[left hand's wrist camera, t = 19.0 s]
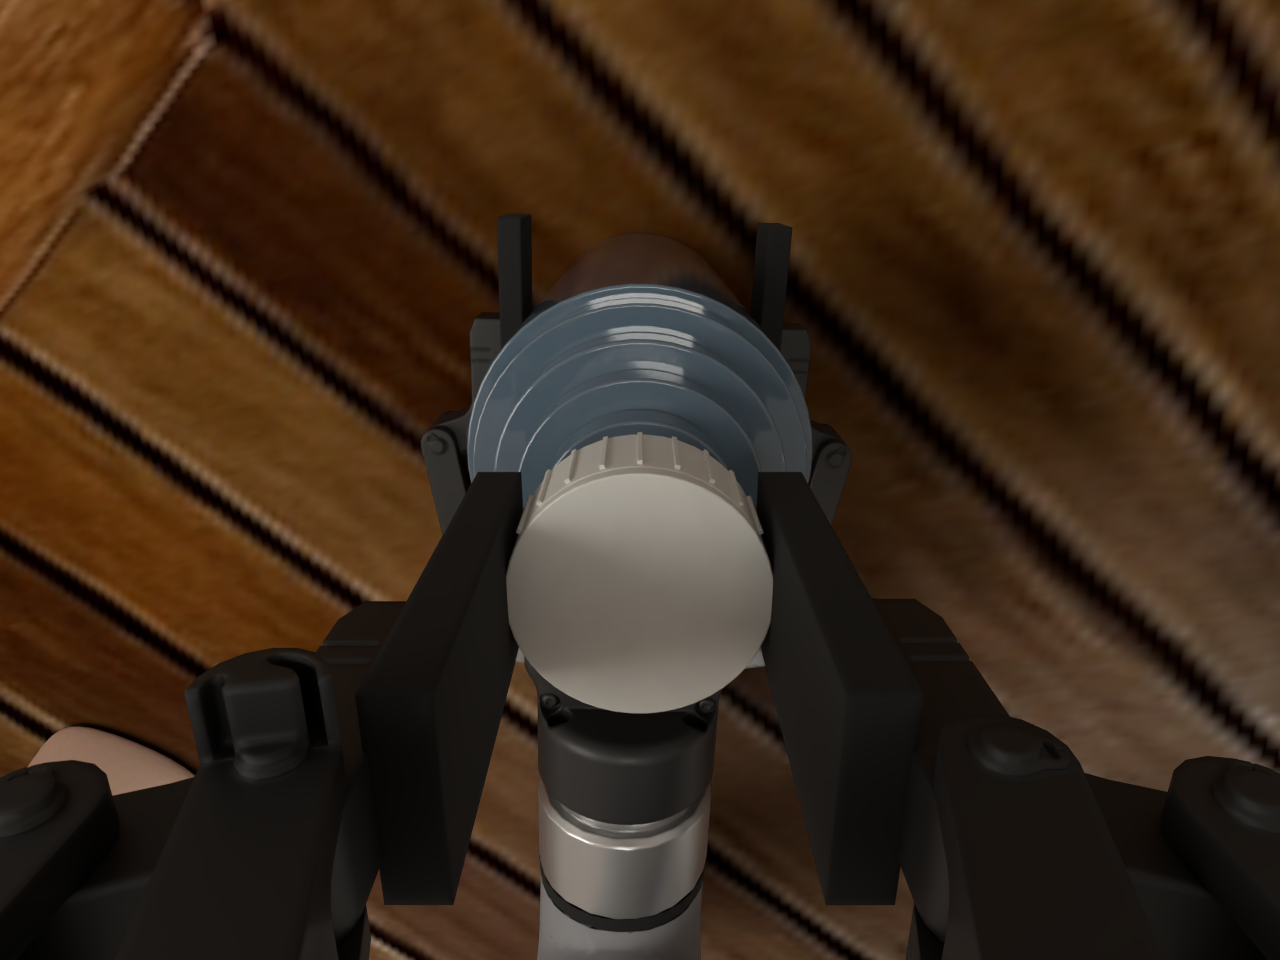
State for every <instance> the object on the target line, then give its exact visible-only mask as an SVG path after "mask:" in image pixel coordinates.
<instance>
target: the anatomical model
mask: <svg viewBox="0 0 1280 960" xmlns="http://www.w3.org/2000/svg"><path fill="white" fill-rule="evenodd" d="M66 760H77V761H83V762H88V763H94V764H95V765H97V766H98V767H99V768H100V769H101V770H102V771H104V772H105V773H106V774H107V778H108V781H109V785H110V788H111V792H112V796H113V795H118V794H122V793H127V792H132V791H137V790H141V789H146V788H151V787H155V786H160V785H165V784H170V783H174V782H177V781H181V780H185V779H188V778H192V777H195V775H194V774H193V773H191V772H190V771H189V770H187V769H186V768H185V767H183V766H181V765H180V764H178V763H176V762H175V761H173V760H172V759H170V758H168V757H166V756H164V755H162V754H160V753H158V752H156V751H154V750H152V749H150V748H147V747H145V746H143V745H140V744H138V743H136V742H133V741H131V740H128V739H125V738H123V737H120V736H117V735H115V734H111V733H108V732H104V731H101V730H98V729H94V728H88V727H80V726H77V727H67V728H64V729H62V730H60V731H58V732H57V733H55V734H54V735H52V736H51V738H50V739H49V740H48V741H47V742H46V743H45V744H44V745H43V746H42V748H41V749H40V750H39V752H38V753H37V754H36V756H35V757H34V759H33V760H32V761H31V763H30V764H29V766H28V767H30V766H32V765H37V764H41V763H46V762H56V761H66ZM28 767H27V768H28Z"/></svg>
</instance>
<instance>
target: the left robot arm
mask: <svg viewBox="0 0 1280 960" xmlns="http://www.w3.org/2000/svg"><path fill="white" fill-rule="evenodd" d="M756 512H757V515H758V518H759V521H760V524H761V526H762V529H763V532H764V533H763V534H761V536H762V539H763V542H764V545H765V548H766V551H767V554H768V556H769V559H770V563H771V567H772V572H773V594H772V610H771V622H770V626H769V629H768V631H767V634H766V637H765V639H764V641H763V643H762V644H761V646H760V648H761V652H762V656H763V660H764V663H765V667H766V671H767V675H768V679H769V683H770V687H771V691H772V695H773V699H774V703H775V706H776V710H777V714H778V718H779V722H780V726H781V730H782V734H783V738H784V742H785V746H786V750H787V753H788V757H789V761H790V765H791V769H792V773H793V777H794V781H795V785H796V789H797V793H798V796H799V800H800V804H801V808H802V812H803V816H804V820H805V824H806V828H807V832H808V836H809V839H810V843H811V847H812V851H813V855H814V859H815V863H816V867H817V871H818V875H819V879H820V882H821V886H822V890H823V894H824V898H825V902H826V905H895V900H896V893H897V886H898V879H899V872H900V865H901V868H902V870H903V873H904V876H905V878H906V881H907V883H908V886H909V889H910V891H911V894H912V897H913V899H914V908H913V915H912V921H911V928H910V935H909V941H908V948H907V954H906V960H1280V774H1279V773H1277V772H1275V771H1274V770H1272V769H1270V768H1267V767H1264V766H1261V765H1258V764H1252V763H1250V762H1247V761H1242V760H1238V759H1232V758H1222V757H1212V756H1205V757H1199V758H1194V759H1188V760H1185V761H1184V762H1183V763H1182V764H1181V765H1179V766H1178V767H1177V768H1176V769H1175V770H1174V772H1173V775H1172V779H1171V782H1170V786H1169V790H1168V792H1165V791H1160V790H1156V789H1151V788H1146V787H1141V786H1136V785H1132V784H1127V783H1122V782H1117V781H1113V780H1108V779H1104V778H1101V777H1097V776H1094V775H1090V774H1086V773H1084V771H1083V769H1082V767H1081V764H1080V762H1079V761H1078V760H1077V758H1076V757H1075V756H1074V754H1073V753H1072V751H1071V750H1070V749H1069V747H1068V746H1067V745H1066V744H1064V743H1063V742H1061V741H1060V740H1059V739H1057V738H1056V737H1055V736H1053V735H1052V734H1051V733H1049V732H1048V731H1046V730H1044V729H1042V728H1039V727H1037V726H1035V725H1033V724H1030V723H1028V722H1026V721H1023V720H1021V719H1016V718H1012V717H1010V716H1009V715H1008V713H1007V712H1006V710H1005V709H1004V707H1003V706H1002V704H1001V703H1000V701H999V700H998V699H997V697H996V696H995V694H994V693H993V691H992V690H991V688H990V687H989V685H988V684H987V682H986V681H985V680H984V678H983V677H982V675H981V674H980V672H979V671H978V669H977V668H976V666H975V665H974V664H973V662H972V661H969V656H968V655H967V653H966V652H965V650H964V649H963V648H962V646H961V645H960V643H957V639H956V637H955V636H954V634H953V633H952V631H951V630H950V629H949V627H948V626H947V624H946V623H945V621H944V620H943V618H942V617H941V616H939V615H938V614H936V613H935V612H933V611H932V610H930V609H929V608H927V607H926V606H924V605H923V604H921V603H920V602H918V601H917V600H915V599H871V597H870V595H869V594H868V592H867V590H866V588H865V586H864V585H863V583H862V581H861V579H860V577H859V575H858V574H857V572H856V570H855V568H854V566H853V565H852V563H851V561H850V559H849V557H848V555H847V554H846V552H845V550H844V548H843V546H842V544H841V543H840V541H839V539H838V537H837V535H836V534H835V532H834V530H833V528H832V526H831V524H830V523H829V521H828V519H827V517H826V515H825V513H824V512H823V510H822V508H821V506H820V504H819V503H818V501H817V499H816V497H815V495H814V493H813V492H812V490H811V488H810V486H809V484H808V482H807V481H806V479H805V477H804V475H803V473H802V472H758V485H757V504H756ZM522 513H523V495H522V476H521V472H477V474H476V476H475V478H474V480H473V482H472V483H471V485H470V487H469V489H468V491H467V492H466V494H465V496H464V498H463V500H462V502H461V503H460V505H459V507H458V509H457V511H456V512H455V514H454V516H453V518H452V520H451V522H450V523H449V525H448V527H447V529H446V531H445V533H444V534H443V536H442V538H441V540H440V542H439V543H438V545H437V547H436V549H435V551H434V553H433V554H432V556H431V558H430V560H429V562H428V563H427V565H426V567H425V569H424V571H423V573H422V574H421V576H420V578H419V580H418V582H417V584H416V585H415V587H414V589H413V591H412V593H411V594H410V596H409V598H408V600H407V601H365V602H364V603H362V604H361V605H359V606H358V607H356V608H355V609H354V610H352V611H351V612H349V613H348V614H346V615H345V616H343V617H342V618H340V619H339V620H338V621H337V622H336V624H335V625H334V627H333V628H332V630H331V631H330V633H329V634H328V635H327V637H326V638H325V640H324V641H323V646H320V647H319V649H318V650H317V652H316V653H315V652H311V651H308V650H304V649H300V648H271V649H265V650H260V651H255V652H250V653H245V654H243V655H240V656H237V657H235V658H232V659H230V660H227V661H224V662H222V663H219V664H218V665H216V666H214V667H213V668H211V669H210V670H208V671H206V672H205V673H203V674H202V675H200V676H199V677H197V678H196V680H195V681H194V682H193V683H192V684H191V685H190V686H189V688H188V689H187V690H186V691H185V692H184V694H185V698H186V703H187V707H188V711H189V716H190V720H191V725H192V729H193V733H194V738H195V742H196V747H197V751H198V755H199V760H200V766H199V768H198V770H197V773H196V775H195V777H192V778H188V779H185V780H181V781H177V782H174V783H170V784H165V785H160V786H155V787H151V788H146V789H141V790H137V791H132V792H127V793H122V794H118V795H113V796H112V792H111V788H110V785H109V781H108V778H107V774H106V773H105V772H104V771H102V770H101V769H100V768H99V767H98V766H97V765H95V764H94V763H88V762H83V761H77V760H66V761H56V762H46V763H41V764H37V765H32V766H30V767H28V768H26V767H25V768H22V769H19V770H16V771H13V772H11V773H9V774H7V775H5V776H3V777H1V778H0V960H369V952H370V943H371V936H370V929H369V922H368V915H367V908H366V902H367V899H368V897H369V894H370V891H371V889H372V886H373V883H374V881H375V878H376V876H377V873H378V870H379V869H380V876H381V883H382V890H383V897H384V904H385V905H453V904H454V900H455V896H456V892H457V888H458V884H459V880H460V876H461V873H462V869H463V865H464V861H465V857H466V853H467V849H468V845H469V841H470V837H471V833H472V830H473V826H474V822H475V818H476V814H477V810H478V806H479V802H480V798H481V794H482V790H483V787H484V783H485V779H486V775H487V771H488V767H489V763H490V759H491V755H492V751H493V747H494V744H495V740H496V736H497V732H498V728H499V724H500V720H501V716H502V712H503V708H504V705H505V701H506V697H507V693H508V689H509V685H510V681H511V677H512V673H513V669H514V665H515V662H516V658H517V654H518V650H519V646H518V644H517V642H516V640H515V638H514V636H513V633H512V631H511V628H510V625H509V617H508V602H507V585H506V573H507V568H508V564H509V560H510V557H511V554H512V551H513V548H514V546H515V543H516V540H517V537H518V533H516V530H517V528H518V525H519V522H520V519H521V516H522Z"/></svg>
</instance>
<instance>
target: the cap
mask: <svg viewBox="0 0 1280 960" xmlns="http://www.w3.org/2000/svg"><path fill="white" fill-rule="evenodd" d="M516 533H518V537H517V540H516V543H515V546H514V548H513V551H512V554H511V557H510V560H509V564H508V568H507V573H506V585H507V602H508V617H509V625H510V628H511V631H512V633H513V636H514V638H515V640H516V642H517V644H518V646H519V648H520V649H521V651H522V653H523V654H524V656H525V657H526V658H527V660H528V661H529V663H530V664H531V665H532V666H533V667H534V668H535V669H536V670H537V672H538V673H539V674H540V675H541V676H542V677H543V678H545V679H546V680H547V681H548V682H550V683H551V684H552V685H553V686H554V687H556V688H558V689H559V690H561V691H562V692H564V693H565V694H567V695H569V696H571V697H573V698H575V699H577V700H579V701H581V702H583V703H586V704H589V705H592V706H595V707H598V708H602V709H606V710H611V711H615V712H624V713H655V712H664V711H669V710H673V709H678V708H682V707H685V706H687V705H690V704H693V703H696V702H698V701H700V700H702V699H704V698H707V697H709V696H711V695H712V694H714V693H716V692H717V691H719V690H720V689H722V688H723V687H725V686H726V685H727V684H729V683H730V682H731V681H732V680H733V679H735V678H736V677H737V676H738V675H739V674H740V673H741V672H742V671H743V670H744V669H745V668H746V667H747V666H748V664H749V663H750V662H751V660H752V659H753V657H754V656H755V655H756V653H757V652H758V650H759V648H760V646H761V644H762V643H763V641H764V639H765V637H766V634H767V631H768V629H769V626H770V622H771V610H772V594H773V572H772V567H771V563H770V559H769V556H768V554H767V551H766V548H765V545H764V542H763V539H762V536H761V534H763V533H764V532H763V529H762V526H761V524H760V521H759V518H758V515H757V512H756V509H755V506H754V503H753V501H752V498H751V496H748V497H747V496H746V494H745V492H744V491H743V489H742V487H741V486H740V484H739V483H738V482H737V480H736V477H735V474H734V472H733V471H732V470H730V471H728V470H727V469H726V468H725V467H724V466H723V465H722V464H721V463H719V462H718V461H717V460H715V459H714V458H713V457H711V456H710V455H709V452H708V451H707V450H705V449H704V450H703V451H702V450H700V449H698V448H696V447H694V446H692V445H689V444H687V443H684V442H682V441H679V440H677V437H673V436H672V439H671V438H667V437H663V436H655V435H643V433H642V432H638V433H637V435H624V436H617V437H612V438H608V436H606V437H603V440H600V441H598V442H595V443H593V444H590V445H588V446H585V447H583V448H581V449H580V450H578V451H577V450H576V449H574V450H572V451H571V455H569V456H568V457H567V458H565V459H564V460H563V461H561V462H560V463H559V464H558V465H557V466H556V467H555V468H554V469H553V470H552V471H551V470H550V469H548V470H547V471H546V473H545V476H544V479H543V481H542V482H541V484H540V485H539V486H538V488H537V490H536V491H535V493H534V495H533V496H531V495H529V497H528V499H527V502H526V505H525V508H524V510H523V513H522V516H521V519H520V522H519V525H518V528H517V530H516Z"/></svg>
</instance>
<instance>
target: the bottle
mask: <svg viewBox="0 0 1280 960" xmlns="http://www.w3.org/2000/svg"><path fill="white" fill-rule="evenodd" d="M638 432H642V433H643V435H655V436H663V437H667V438H671V439H672V436H673V437H677V440H679V441H682V442H684V443H687V444H689V445H692V446H694V447H696V448H698V449H700V450H702V451H703V450H704V449H705V450H707V451H708V452H709V455H710V456H711V457H713V458H714V459H715V460H717V461H718V462H719V463H721V464H722V465H723V466H724V467H725V468H726V469H727V470H728V471H730V470H732V471H733V472H734V474H735V477H736V480H737V482H738V483H739V484H740V486H741V487H742V489H743V491H744V492H745V494H746V496H747V497H748V496H751V498H752V501H753V503H754V506H755V509H756V504H757V485H758V472H802V473H803V475H804V477H805V479H806V481H807V482H809V478H810V473H811V464H812V453H813V448H812V429H811V423H810V418H809V412H808V408H807V405H806V402H805V399H804V396H803V393H802V390H801V387H800V385H799V383H798V381H797V379H796V377H795V375H794V373H793V371H792V369H791V367H790V365H789V364H788V363H787V361H786V360H785V358H784V357H783V355H782V354H781V352H780V351H779V349H778V348H777V347H776V346H775V344H774V343H773V342H772V341H771V339H770V338H769V337H768V336H767V334H766V333H765V332H764V331H763V329H762V328H761V327H760V326H759V325H758V323H757V322H756V321H755V320H754V318H753V317H752V316H751V315H750V313H749V312H748V311H747V310H746V308H745V307H744V306H743V305H742V303H741V302H740V301H739V300H738V298H737V297H736V296H735V295H734V294H733V292H732V291H731V290H730V289H729V287H728V286H727V285H726V284H725V282H724V281H723V280H722V279H721V277H720V276H719V275H718V274H717V272H716V271H715V270H714V269H713V268H712V267H711V265H710V264H709V263H708V262H707V261H706V260H705V259H704V258H703V257H702V256H700V255H699V254H698V253H697V252H696V251H694V250H693V249H691V248H690V247H688V246H686V245H685V244H683V243H681V242H678V241H676V240H674V239H671V238H668V237H665V236H661V235H655V234H649V233H632V234H624V235H619V236H615V237H612V238H609V239H606V240H604V241H601V242H599V243H597V244H595V245H594V246H592V247H590V248H589V249H587V250H586V251H584V252H583V253H582V254H581V255H579V256H578V257H577V258H576V259H575V260H574V261H573V262H572V263H571V264H570V265H569V266H568V267H567V269H566V270H565V271H564V272H563V274H562V275H561V276H560V277H559V279H558V280H557V281H556V282H555V283H554V285H553V286H552V287H551V288H550V290H549V291H548V292H547V293H546V295H545V296H544V297H543V298H542V300H541V301H540V302H539V303H538V304H537V306H536V307H535V308H534V309H533V311H532V312H531V313H530V314H529V316H528V317H527V318H526V319H525V321H524V322H523V323H522V324H521V325H520V327H519V328H518V329H517V330H516V332H515V333H514V334H513V335H512V337H511V338H510V339H509V340H508V342H507V343H506V344H505V345H504V347H503V348H502V349H501V351H500V352H499V353H498V355H497V356H496V357H495V359H494V360H493V362H492V363H491V365H490V367H489V369H488V370H487V372H486V374H485V376H484V378H483V380H482V381H481V384H480V387H479V389H478V392H477V395H476V397H475V400H474V403H473V407H472V411H471V416H470V420H469V426H468V439H467V455H468V469H469V474H470V479H471V483H472V482H473V480H474V478H475V476H476V474H477V472H521V476H522V495H523V510H524V508H525V505H526V502H527V499H528V497H529V495H531V496H533V495H534V493H535V491H536V490H537V488H538V486H539V485H540V484H541V482H542V481H543V479H544V476H545V473H546V471H547V470H548V469H550V470H551V471H552V470H553V469H554V468H555V467H556V466H557V465H558V464H559V463H560V462H561V461H563V460H564V459H565V458H567V457H568V456H569V455H571V451H572V450H574V449H576V450H577V451H578V450H580V449H581V448H583V447H585V446H588V445H590V444H593V443H595V442H598V441H600V440H603V437H606V436H608V438H612V437H617V436H624V435H637V433H638Z"/></svg>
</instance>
